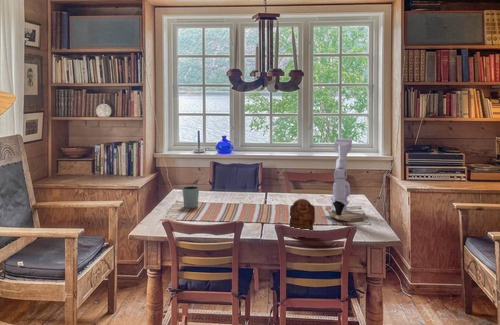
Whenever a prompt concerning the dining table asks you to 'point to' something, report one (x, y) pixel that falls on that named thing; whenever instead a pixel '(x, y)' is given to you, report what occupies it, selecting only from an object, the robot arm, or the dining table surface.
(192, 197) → the green plant pot
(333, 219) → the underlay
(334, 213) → the plank
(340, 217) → the plank
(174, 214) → the dining table surface
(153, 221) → the dining table surface
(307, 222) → the wooden figurine
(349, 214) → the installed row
